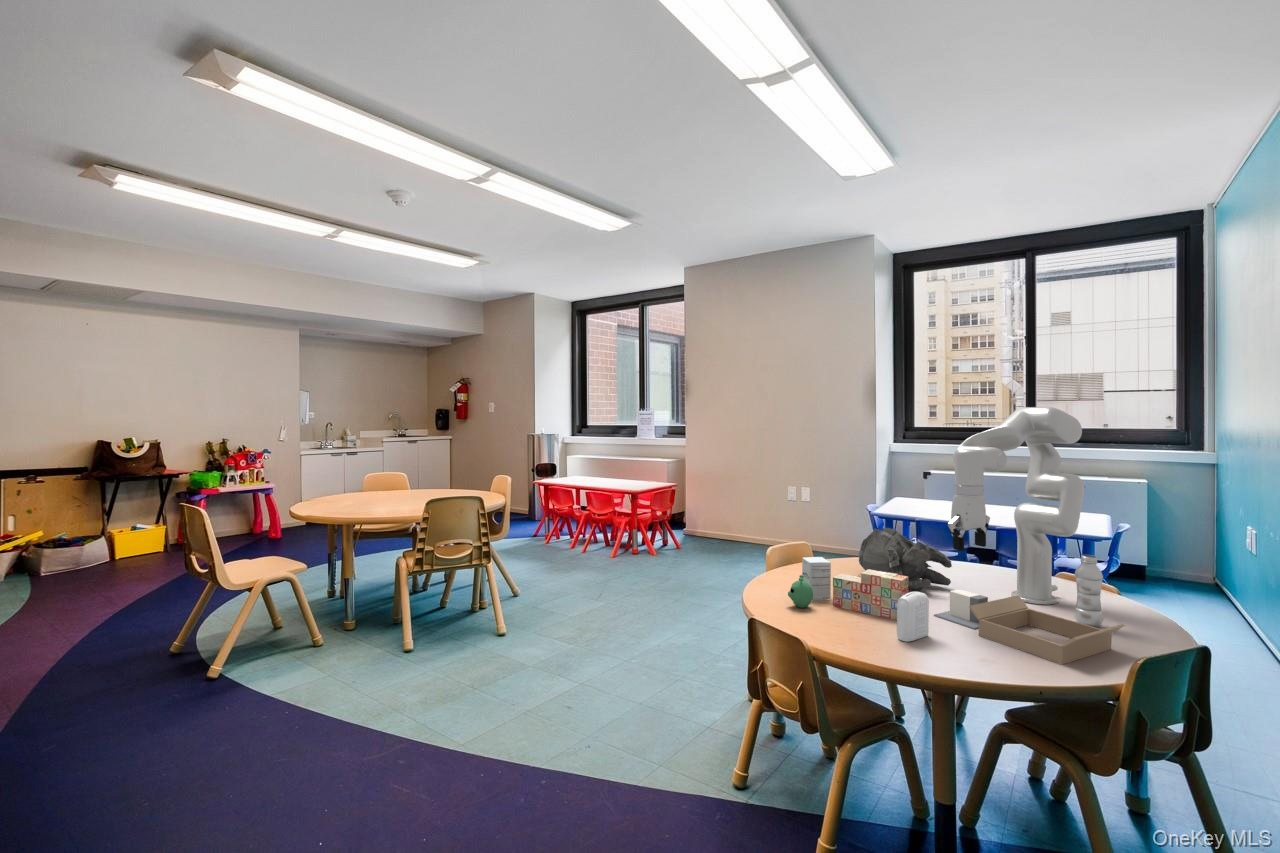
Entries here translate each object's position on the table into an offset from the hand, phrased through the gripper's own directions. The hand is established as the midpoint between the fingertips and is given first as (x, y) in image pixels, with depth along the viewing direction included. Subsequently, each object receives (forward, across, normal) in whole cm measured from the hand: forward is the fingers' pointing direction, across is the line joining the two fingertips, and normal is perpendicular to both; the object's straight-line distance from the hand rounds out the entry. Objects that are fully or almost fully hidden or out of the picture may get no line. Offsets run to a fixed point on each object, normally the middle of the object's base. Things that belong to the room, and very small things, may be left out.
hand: (969, 547), depth 181 cm
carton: (+21, 0, +21) cm, 30 cm away
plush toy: (+22, -14, -36) cm, 44 cm away
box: (+21, +1, 0) cm, 21 cm away
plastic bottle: (+22, -25, +19) cm, 38 cm away
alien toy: (+20, +38, -31) cm, 53 cm away
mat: (+21, +1, 0) cm, 21 cm away
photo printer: (+21, +28, +3) cm, 35 cm away
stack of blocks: (+21, +21, -19) cm, 35 cm away
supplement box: (+21, +26, -37) cm, 50 cm away
